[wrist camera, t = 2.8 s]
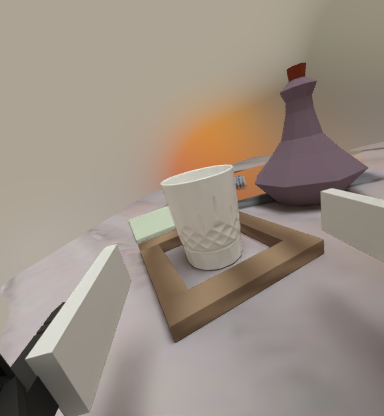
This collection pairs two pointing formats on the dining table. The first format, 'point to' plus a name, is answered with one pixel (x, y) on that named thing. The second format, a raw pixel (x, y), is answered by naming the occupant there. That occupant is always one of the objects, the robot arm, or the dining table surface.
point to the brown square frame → (225, 273)
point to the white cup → (206, 215)
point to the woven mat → (240, 183)
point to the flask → (305, 151)
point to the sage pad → (152, 224)
